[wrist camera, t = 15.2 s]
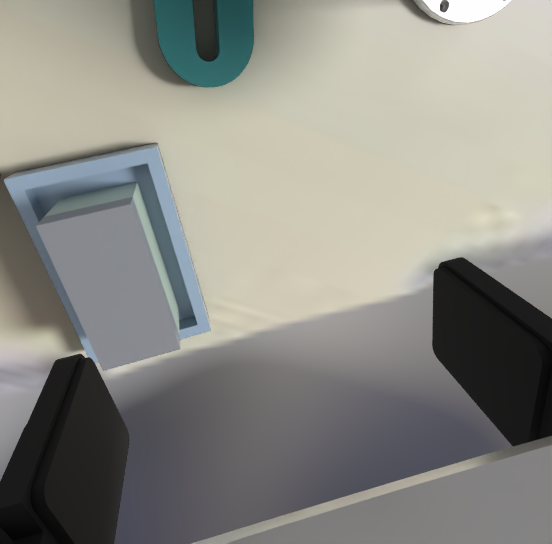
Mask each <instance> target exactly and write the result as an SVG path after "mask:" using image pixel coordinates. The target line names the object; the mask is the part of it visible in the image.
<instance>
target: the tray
mask: <svg viewBox="0 0 552 544" xmlns="http://www.w3.org/2000/svg"><path fill="white" fill-rule="evenodd" d="M4 182H5V184H6V187H7V189H8V191H9V193H10V195H11V197H12V199H13V201H14V203H15V205H16V207H17V210H18V212H19V214H20V216H21V218H22V220H23V222H24V224H25V226H26V228H27V230H28V233H29V235H30V237H31V239H32V241H33V243H34V245H35V247H36V249H37V251H38V253H39V256H40V258H41V260H42V262H43V264H44V266H45V268H46V270H47V272H48V274H49V276H50V278H51V281H52V283H53V285H54V287H55V289H56V291H57V293H58V295H59V297H60V299H61V301H62V304H63V306H64V308H65V310H66V312H67V314H68V316H69V318H70V320H71V322H72V324H73V327H74V329H75V331H76V333H77V335H78V337H79V339H80V341H81V343H82V345H83V347H84V350H85V352H86V354H87V356H88V357H90V358H91V359H92V360H93V361H94V363H98V362H99V361H98V359H97V357H96V355H95V353H94V351H93V348H92V346H91V344H90V342H89V340H88V338H87V335H86V333H85V331H84V329H83V327H82V325H81V323H80V320H79V318H78V316H77V314H76V312H75V310H74V307H73V305H72V303H71V301H70V299H69V297H68V295H67V292H66V290H65V288H64V286H63V284H62V282H61V279H60V277H59V275H58V273H57V271H56V269H55V267H54V264H53V262H52V260H51V258H50V256H49V254H48V251H47V249H46V247H45V245H44V243H43V241H42V239H41V236H40V234H39V232H38V230H37V228H36V225H37V224H38V223H39V222H40V221H41V220H42V218H43V217H44V216H45V215H46V214H47V213H48V212H49V211H50V210H51V209H52V208H53V207H54V206H55V204H56V203H57V202H58V201H59V200H60V199H61V198H66V197H70V196H75V195H79V194H84V193H88V192H93V191H97V190H102V189H106V188H111V187H115V186H120V185H124V184H129V183H134V182H138V185H139V188H140V191H141V194H142V197H143V200H144V203H145V206H146V209H147V212H148V216H149V219H150V222H151V225H152V228H153V231H154V234H155V237H156V240H157V243H158V246H159V249H160V252H161V255H162V258H163V261H164V264H165V268H166V271H167V274H168V277H169V280H170V283H171V286H172V289H173V292H174V295H175V298H176V301H177V304H178V313H179V334H180V339H184V338H187V337H191V336H194V335H198V334H201V333H205V332H209V331H211V328H210V322H209V317H208V314H207V310H206V307H205V303H204V300H203V296H202V293H201V290H200V286H199V283H198V279H197V276H196V273H195V269H194V266H193V262H192V259H191V256H190V252H189V249H188V245H187V242H186V239H185V235H184V232H183V228H182V225H181V221H180V218H179V215H178V211H177V208H176V204H175V201H174V198H173V194H172V191H171V187H170V184H169V181H168V177H167V174H166V170H165V167H164V164H163V160H162V157H161V153H160V150H159V146H158V143H154V144H149V145H145V146H140V147H135V148H130V149H126V150H121V151H116V152H111V153H107V154H102V155H97V156H93V157H88V158H83V159H78V160H74V161H69V162H64V163H59V164H55V165H50V166H45V167H41V168H36V169H31V170H26V171H22V172H17V173H14V174H12V175H10V176H9V177H7V178H5V179H4Z"/></svg>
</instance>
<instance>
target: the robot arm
mask: <svg viewBox="0 0 552 544" xmlns="http://www.w3.org/2000/svg"><path fill="white" fill-rule="evenodd" d="M414 1H415V3H416V4H417V5H418V7H419V8H420V9H421V10H422V11H424V12H425V13H426V14H427V15H429V16H430V17H431V18H433V19H436V20H438V21H440V22H442V23H447V24H452V25H459V24H469V23H473V22H478V21H481V20H483V19H486V18H488V17H490V16H492V15H494V14H495V13H497V12H498V11H500V10H501V9H503V8H504V7H505V6H506V5H507V4H508V3H509V2H510V1H511V0H414ZM439 6H440V9H439ZM432 341H433V342H432V345H433V350H434V353H435V355H436V357H437V358H438V360H439V361H440V362H441V363H442V364H443V365H444V366H445V368H446V369H447V370H448V371H449V372H450V374H451V375H452V376H453V377H454V378H455V379H456V381H457V382H458V383H459V384H460V385H461V386H462V388H463V389H464V390H465V391H466V392H467V393H468V394H469V396H470V397H471V398H472V399H473V400H474V402H475V403H476V404H477V405H478V406H479V407H480V409H481V410H482V411H483V412H484V413H485V414H486V415H487V417H488V418H489V419H490V420H491V421H492V422H493V424H494V425H495V426H496V427H497V428H498V430H499V431H500V432H501V433H502V434H503V435H504V437H505V438H506V439H507V440H508V441H509V442H510V443H511V445H512V446H513V447H510V448H506V449H503V450H500V451H496V452H493V453H490V454H486V455H483V456H479V457H476V458H473V459H469V460H466V461H462V462H459V463H456V464H452V465H449V466H446V467H442V468H439V469H436V470H432V471H429V472H425V473H422V474H419V475H415V476H412V477H409V478H406V479H402V480H399V481H395V482H392V483H389V484H385V485H382V486H379V487H375V488H372V489H369V490H366V491H362V492H359V493H356V494H352V495H349V496H346V497H342V498H339V499H336V500H332V501H330V502H326V503H323V504H319V505H316V506H313V507H309V508H306V509H303V510H300V511H296V512H293V513H290V514H286V515H283V516H280V517H277V518H273V519H270V520H267V521H264V522H260V523H257V524H254V525H251V526H248V527H244V528H241V529H238V530H235V531H231V532H228V533H225V534H222V535H219V536H215V537H212V538H209V539H205V540H202V541H199V542H196V543H192V544H552V319H551V318H550V317H549V316H547V315H545V314H544V313H543V312H541V311H540V310H538V309H537V308H535V307H534V306H533V305H531V304H530V303H528V302H527V301H525V300H524V299H522V298H521V297H520V296H518V295H517V294H515V293H514V292H512V291H511V290H509V289H508V288H506V287H505V286H504V285H502V284H501V283H499V282H498V281H496V280H495V279H494V278H492V277H491V276H489V275H488V274H486V273H485V272H484V271H482V270H481V269H479V268H478V267H476V266H475V265H473V264H472V263H471V262H469V261H468V260H466V259H465V258H462V257H461V258H456V259H452V260H448V261H444V262H441V263H440V264H439V267H438V269H436V270H435V271H434V281H433V340H432ZM128 448H129V433H128V430H127V427H126V425H125V423H124V421H123V419H122V417H121V415H120V414H119V412H118V409H117V407H116V405H115V403H114V401H113V399H112V397H111V395H110V393H109V391H108V389H107V387H106V385H105V383H104V381H103V379H102V377H101V375H100V373H99V371H98V369H97V367H96V365H95V363H94V361H93V360H92V359H91V358H90V357H88V358H85V357H84V356H83V355H82V354H77V355H73V356H69V357H65V358H61V359H58V360H56V361H55V363H54V365H53V367H52V369H51V371H50V374H49V376H48V378H47V380H46V383H45V385H44V387H43V389H42V392H41V394H40V396H39V398H38V401H37V403H36V405H35V407H34V410H33V412H32V414H31V417H30V419H29V421H28V423H27V425H26V426H25V428H24V430H23V432H22V434H21V437H20V439H19V441H18V443H17V446H16V448H15V450H14V452H13V454H12V457H11V459H10V461H9V463H8V466H7V468H6V470H5V472H4V474H3V477H2V479H1V481H0V544H114V540H115V534H116V527H117V521H118V514H119V508H120V501H121V494H122V487H123V481H124V475H125V467H126V461H127V454H128Z"/></svg>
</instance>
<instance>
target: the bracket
mask: <svg viewBox="0 0 552 544" xmlns="http://www.w3.org/2000/svg"><path fill="white" fill-rule="evenodd" d="M154 6H155V15H156V24H157V33H158V40H159V44H160V48H161V51H162V54H163V56H164V58H165V60H166V62H167V63H168V65H169V66H170V68H171V69H172V70H173V71H174V72H175V73H176V74H177V75H178V76H179V77H181V78H182V79H183V80H185V81H187V82H189V83H191V84H193V85H196V86H201V87H218V86H222V85H225V84H227V83H229V82H231V81H232V80H234V79H235V78H236V77H238V76H239V75H240V74H241V72H242V71H243V70H244V69H245V67H246V65H247V64H248V62H249V59H250V57H251V54H252V49H253V42H254V27H253V0H214V11H215V29H216V46H217V54H216V57H215V59H214V60H213V61H211V62H206V61H204V60H202V59H201V58H200V57H199V56H198V54H197V51H196V41H195V28H194V15H193V2H192V0H154Z"/></svg>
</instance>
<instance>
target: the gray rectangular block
mask: <svg viewBox="0 0 552 544" xmlns="http://www.w3.org/2000/svg"><path fill="white" fill-rule="evenodd" d="M36 228H37V230H38V232H39V234H40V236H41V239H42V241H43V243H44V245H45V247H46V249H47V251H48V254H49V256H50V258H51V260H52V262H53V264H54V267H55V269H56V271H57V273H58V275H59V277H60V279H61V282H62V284H63V286H64V288H65V290H66V292H67V295H68V297H69V299H70V301H71V303H72V305H73V307H74V310H75V312H76V314H77V316H78V318H79V320H80V323H81V325H82V327H83V329H84V331H85V333H86V335H87V338H88V340H89V342H90V344H91V346H92V348H93V351H94V353H95V355H96V357H97V359H98V361H99V363H100V366H101V368H102V370H103V371H104V370H108V369H111V368H115V367H118V366H122V365H126V364H129V363H133V362H136V361H140V360H143V359H147V358H150V357H154V356H158V355H161V354H165V353H168V352H172V351H175V350H179V349H180V334H179V313H178V304H177V301H176V298H175V295H174V292H173V289H172V286H171V283H170V280H169V277H168V274H167V271H166V268H165V264H164V261H163V258H162V255H161V252H160V249H159V246H158V243H157V240H156V237H155V234H154V231H153V228H152V225H151V222H150V219H149V216H148V212H147V209H146V206H145V203H144V200H143V197H142V194H141V191H140V188H139V185H138V182H134V183H129V184H124V185H120V186H115V187H111V188H106V189H102V190H97V191H93V192H88V193H84V194H79V195H75V196H70V197H66V198H61V199H60V200H59V201H58V202H57V203H56V204H55V206H54V207H53V208H52V209H51V210H50V211H49V212H48V213H47V214H46V215H45V216H44V217H43V218H42V220H41V221H40V222H39V223H38V224H37V225H36Z"/></svg>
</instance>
